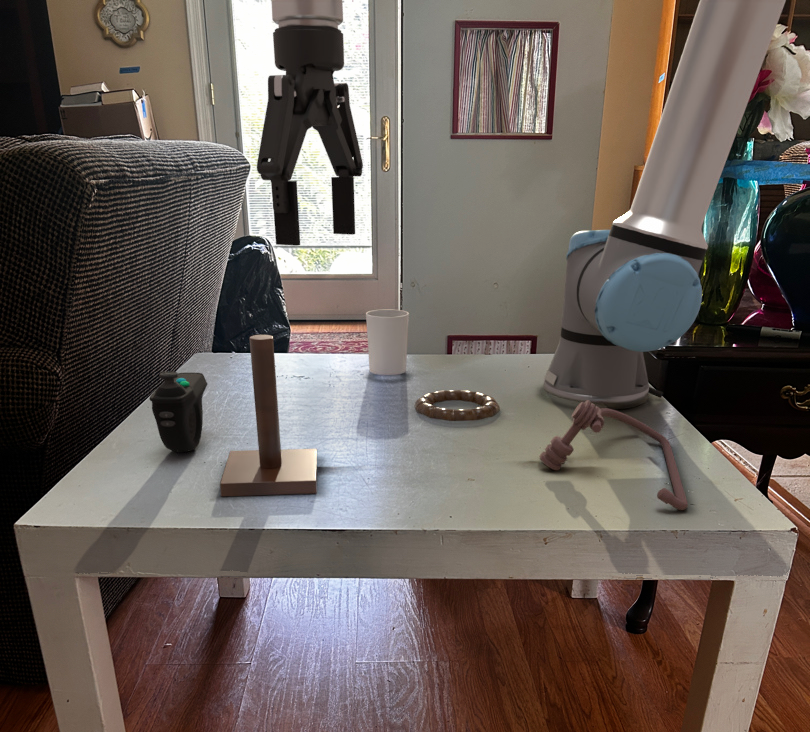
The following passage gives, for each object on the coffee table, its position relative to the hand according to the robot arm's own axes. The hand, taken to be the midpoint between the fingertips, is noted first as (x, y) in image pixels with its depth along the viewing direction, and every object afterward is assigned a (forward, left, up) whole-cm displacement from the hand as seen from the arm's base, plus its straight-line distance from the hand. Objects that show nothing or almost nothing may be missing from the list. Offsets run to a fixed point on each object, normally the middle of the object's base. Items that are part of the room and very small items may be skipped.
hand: (317, 239), depth 93 cm
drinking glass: (-10, -24, -23) cm, 35 cm away
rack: (+6, +18, -23) cm, 30 cm away
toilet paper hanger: (-32, +19, -23) cm, 44 cm away
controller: (+17, +7, -23) cm, 30 cm away
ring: (-18, -3, -22) cm, 29 cm away
